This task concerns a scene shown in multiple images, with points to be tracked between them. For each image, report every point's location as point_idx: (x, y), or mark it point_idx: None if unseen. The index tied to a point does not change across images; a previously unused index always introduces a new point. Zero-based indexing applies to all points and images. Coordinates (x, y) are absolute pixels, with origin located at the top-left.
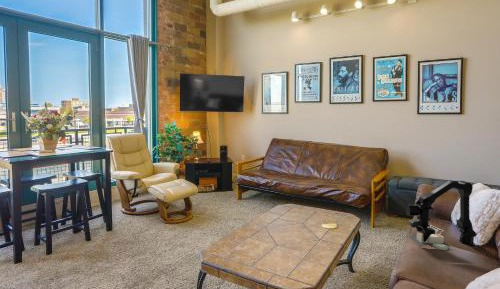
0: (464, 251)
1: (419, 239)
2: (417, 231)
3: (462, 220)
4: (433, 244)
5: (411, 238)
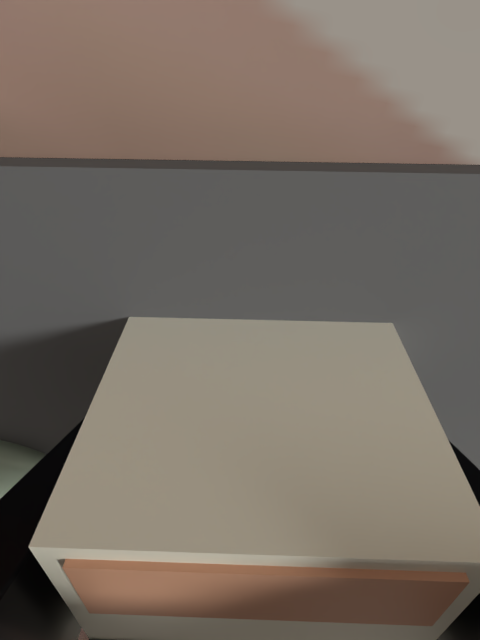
0: None
1: (214, 351)
2: (476, 566)
3: None
4: (10, 478)
5: (439, 186)
